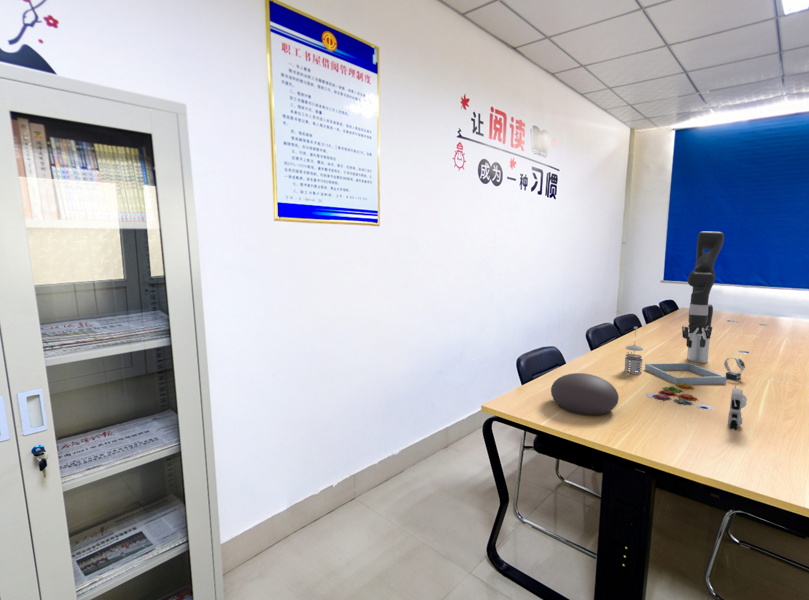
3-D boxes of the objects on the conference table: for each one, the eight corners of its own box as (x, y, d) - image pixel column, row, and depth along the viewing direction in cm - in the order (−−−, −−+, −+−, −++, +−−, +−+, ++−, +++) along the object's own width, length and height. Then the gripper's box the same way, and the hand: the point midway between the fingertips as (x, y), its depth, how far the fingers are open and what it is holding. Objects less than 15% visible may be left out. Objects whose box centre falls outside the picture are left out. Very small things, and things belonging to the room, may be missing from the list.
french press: (647, 374, 213) (650, 326, 210) (635, 379, 206) (638, 329, 203) (628, 370, 221) (631, 323, 218) (616, 374, 214) (619, 326, 211)
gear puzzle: (669, 385, 199) (669, 376, 198) (710, 393, 187) (711, 384, 187) (648, 402, 177) (649, 393, 177) (694, 412, 166) (694, 403, 165)
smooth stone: (591, 398, 181) (593, 364, 179) (632, 421, 156) (634, 383, 155) (539, 402, 177) (540, 368, 175) (572, 427, 152) (574, 387, 150)
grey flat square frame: (644, 371, 219) (645, 363, 219) (688, 370, 220) (689, 362, 220) (676, 386, 195) (676, 378, 195) (725, 385, 196) (726, 376, 196)
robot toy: (742, 437, 143) (747, 395, 141) (726, 433, 146) (730, 392, 144) (744, 425, 152) (748, 386, 150) (728, 422, 155) (732, 383, 153)
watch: (740, 382, 200) (743, 360, 199) (721, 378, 207) (723, 356, 205) (745, 380, 203) (747, 358, 202) (725, 376, 210) (727, 354, 208)
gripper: (706, 312, 207) (703, 345, 209) (678, 312, 206) (676, 345, 208) (718, 314, 200) (715, 348, 202) (689, 314, 199) (687, 349, 201)
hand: (695, 347), depth 205 cm, fingers open, 6 cm apart
